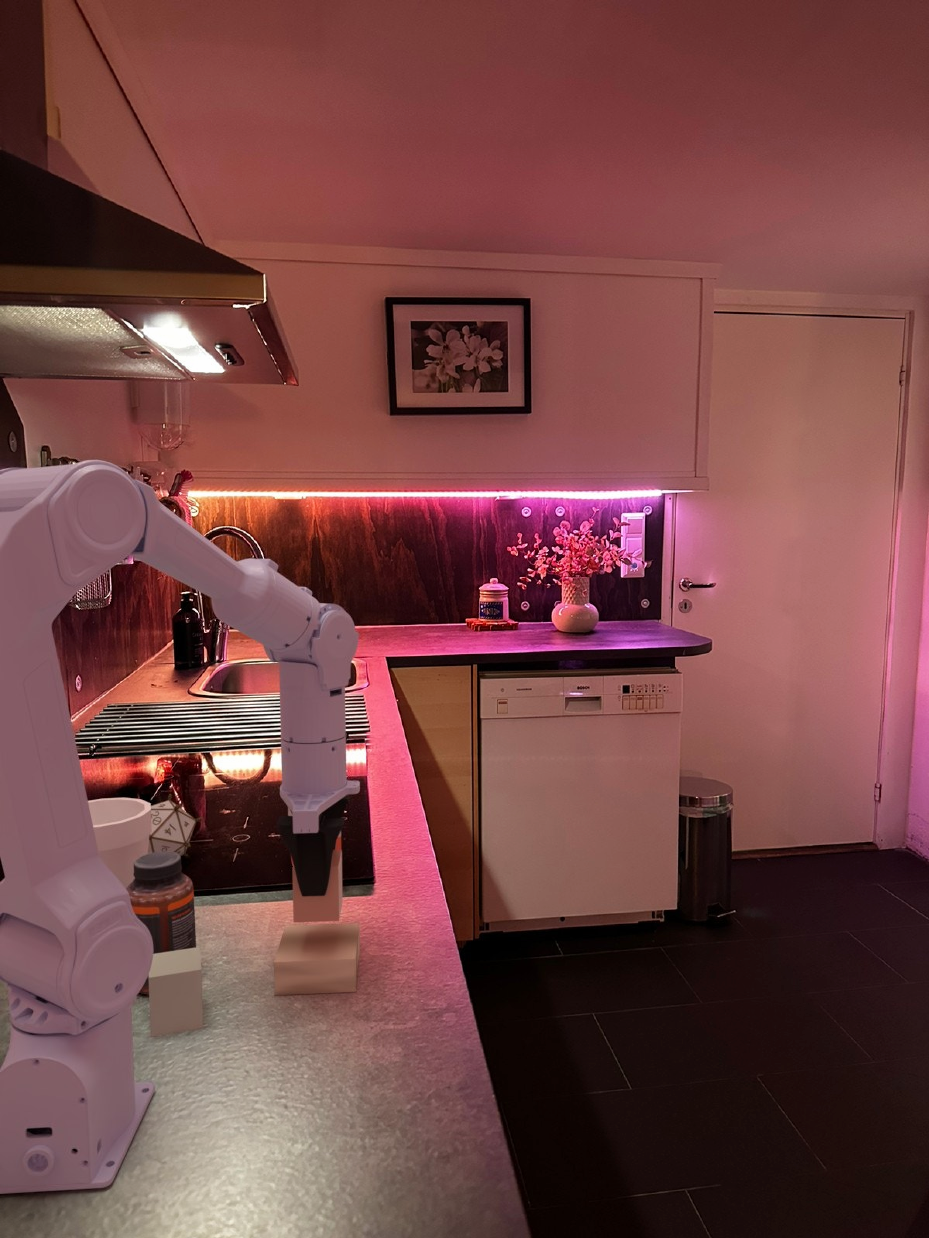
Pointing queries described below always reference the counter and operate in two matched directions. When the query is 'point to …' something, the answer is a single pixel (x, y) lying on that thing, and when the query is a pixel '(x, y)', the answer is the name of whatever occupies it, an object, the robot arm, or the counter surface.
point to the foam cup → (121, 833)
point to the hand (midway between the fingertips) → (316, 883)
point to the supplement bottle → (163, 902)
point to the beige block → (175, 992)
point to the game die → (170, 828)
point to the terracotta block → (320, 897)
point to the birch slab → (317, 959)
